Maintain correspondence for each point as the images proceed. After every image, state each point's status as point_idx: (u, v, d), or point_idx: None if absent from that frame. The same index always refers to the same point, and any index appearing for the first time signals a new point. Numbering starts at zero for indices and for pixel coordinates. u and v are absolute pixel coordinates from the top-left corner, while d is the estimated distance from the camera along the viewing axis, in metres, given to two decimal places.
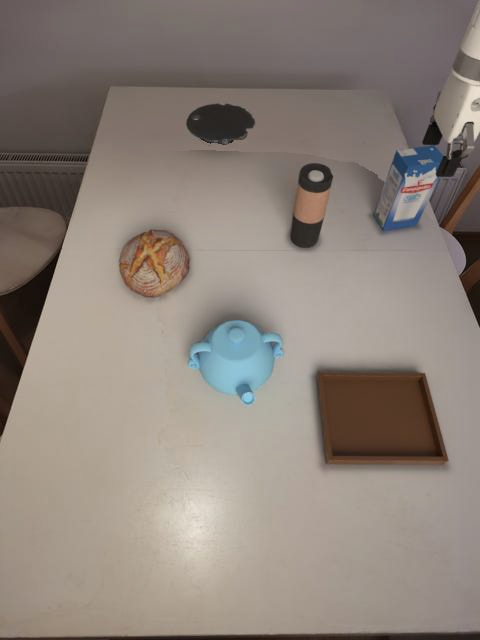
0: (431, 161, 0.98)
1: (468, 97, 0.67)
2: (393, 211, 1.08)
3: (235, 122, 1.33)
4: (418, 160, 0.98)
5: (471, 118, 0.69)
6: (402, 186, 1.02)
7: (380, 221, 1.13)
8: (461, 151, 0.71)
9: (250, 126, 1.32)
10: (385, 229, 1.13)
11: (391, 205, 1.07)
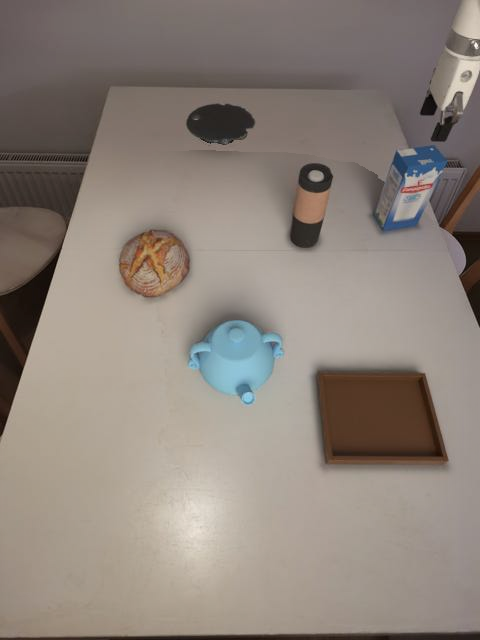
0: (431, 161, 0.98)
1: (458, 69, 0.80)
2: (393, 211, 1.08)
3: (235, 122, 1.33)
4: (418, 160, 0.98)
5: (460, 88, 0.82)
6: (402, 186, 1.02)
7: (380, 221, 1.13)
8: (452, 117, 0.84)
9: (250, 126, 1.32)
10: (385, 229, 1.13)
11: (391, 205, 1.07)
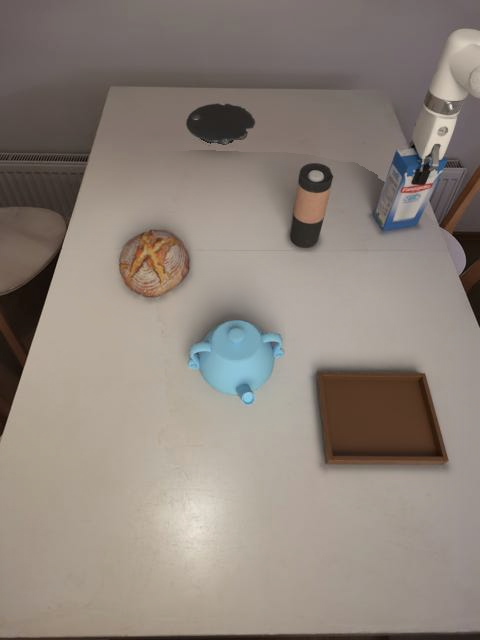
0: None
1: (435, 125, 0.89)
2: (393, 211, 1.08)
3: (235, 122, 1.33)
4: (418, 160, 0.98)
5: (438, 143, 0.91)
6: (402, 186, 1.02)
7: (380, 221, 1.13)
8: (429, 166, 0.94)
9: (250, 126, 1.32)
10: (385, 229, 1.13)
11: (391, 205, 1.07)
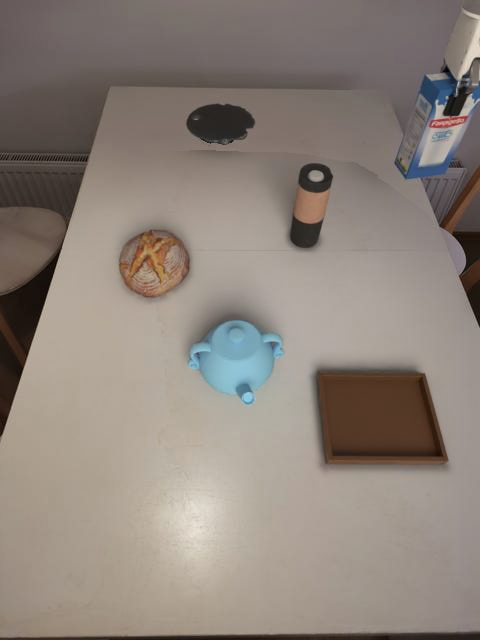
0: None
1: (476, 32, 0.73)
2: (419, 152, 0.92)
3: (235, 122, 1.33)
4: (451, 84, 0.82)
5: (478, 56, 0.75)
6: (431, 118, 0.86)
7: (403, 167, 0.97)
8: (466, 87, 0.78)
9: (250, 126, 1.32)
10: (409, 177, 0.97)
11: (417, 144, 0.91)
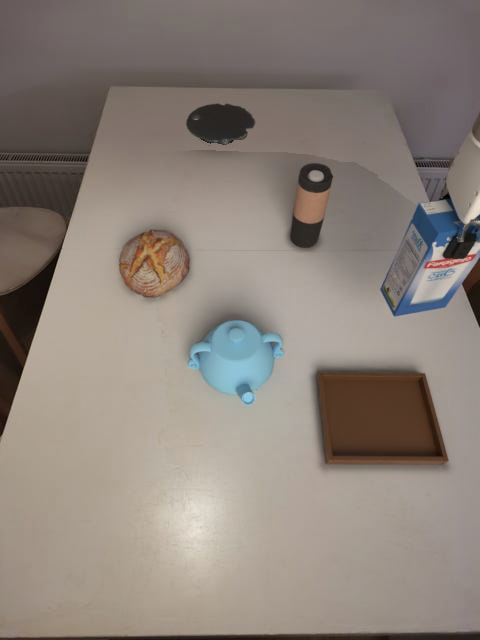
0: None
1: None
2: (411, 292, 0.70)
3: (235, 122, 1.33)
4: (455, 222, 0.60)
5: None
6: (426, 260, 0.63)
7: (390, 300, 0.75)
8: (476, 236, 0.56)
9: (250, 126, 1.32)
10: (398, 314, 0.75)
11: (408, 284, 0.69)
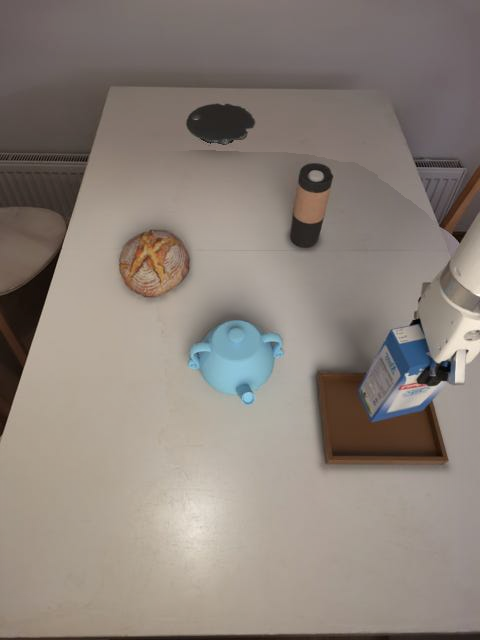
0: None
1: (460, 327, 0.49)
2: (387, 405, 0.69)
3: (235, 122, 1.33)
4: (427, 353, 0.59)
5: (464, 349, 0.52)
6: (400, 385, 0.62)
7: (367, 406, 0.74)
8: (447, 377, 0.55)
9: (250, 126, 1.32)
10: (375, 420, 0.74)
11: (383, 399, 0.67)
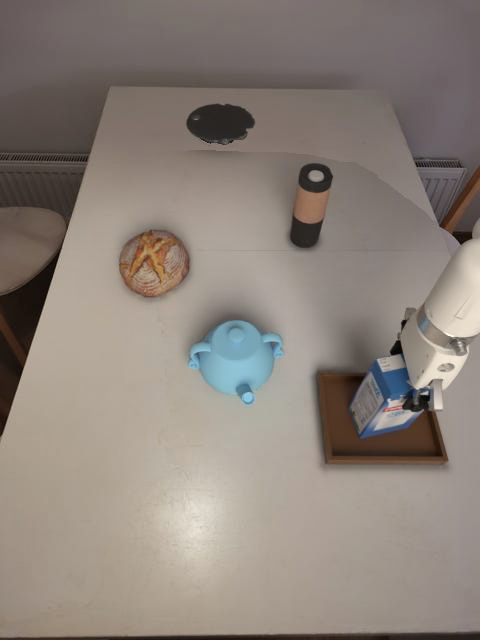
0: None
1: (434, 361, 0.56)
2: (373, 425, 0.76)
3: (235, 122, 1.33)
4: (407, 381, 0.66)
5: (439, 376, 0.58)
6: (384, 408, 0.69)
7: (356, 423, 0.81)
8: (428, 407, 0.60)
9: (250, 126, 1.32)
10: (363, 437, 0.81)
11: (370, 419, 0.74)
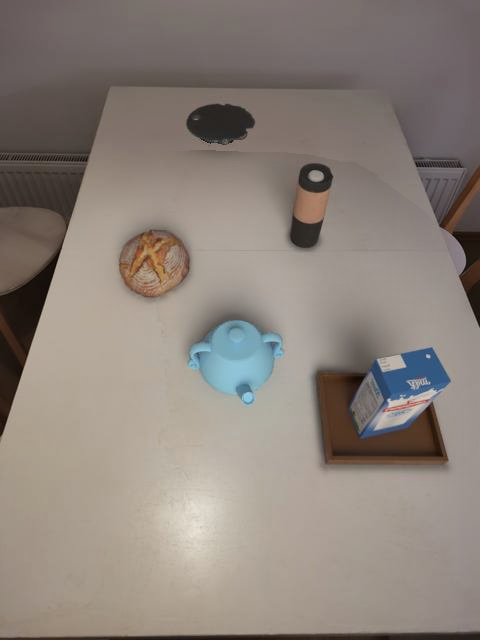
0: (427, 381, 0.66)
1: None
2: (373, 425, 0.76)
3: (235, 122, 1.33)
4: (407, 381, 0.66)
5: None
6: (384, 408, 0.69)
7: (356, 423, 0.81)
8: None
9: (250, 126, 1.32)
10: (363, 437, 0.81)
11: (370, 419, 0.74)
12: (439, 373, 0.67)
